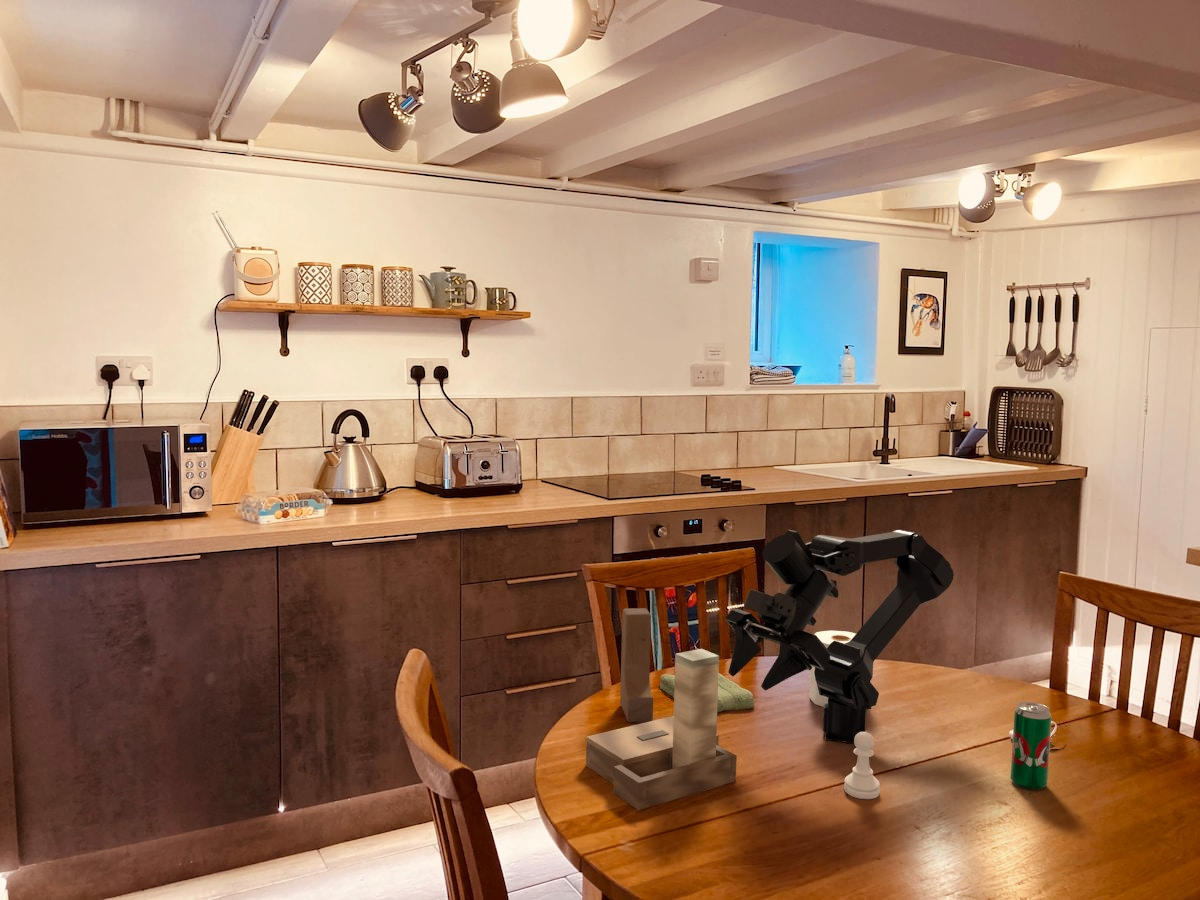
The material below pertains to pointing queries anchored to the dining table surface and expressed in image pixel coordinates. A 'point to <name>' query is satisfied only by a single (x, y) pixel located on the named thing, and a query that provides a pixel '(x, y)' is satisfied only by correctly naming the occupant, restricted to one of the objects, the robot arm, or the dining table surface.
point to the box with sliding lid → (653, 764)
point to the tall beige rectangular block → (695, 707)
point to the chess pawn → (862, 770)
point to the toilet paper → (826, 639)
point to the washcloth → (727, 693)
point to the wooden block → (636, 666)
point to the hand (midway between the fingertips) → (746, 681)
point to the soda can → (1031, 746)
